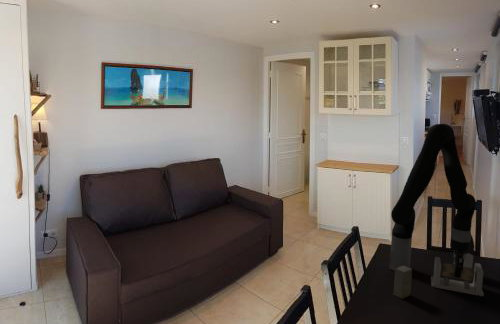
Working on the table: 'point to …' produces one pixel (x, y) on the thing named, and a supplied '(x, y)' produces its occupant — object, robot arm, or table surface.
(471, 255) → the wine bottle
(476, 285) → the frame
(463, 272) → the brown wooden block
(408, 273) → the skincare box
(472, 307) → the table surface
